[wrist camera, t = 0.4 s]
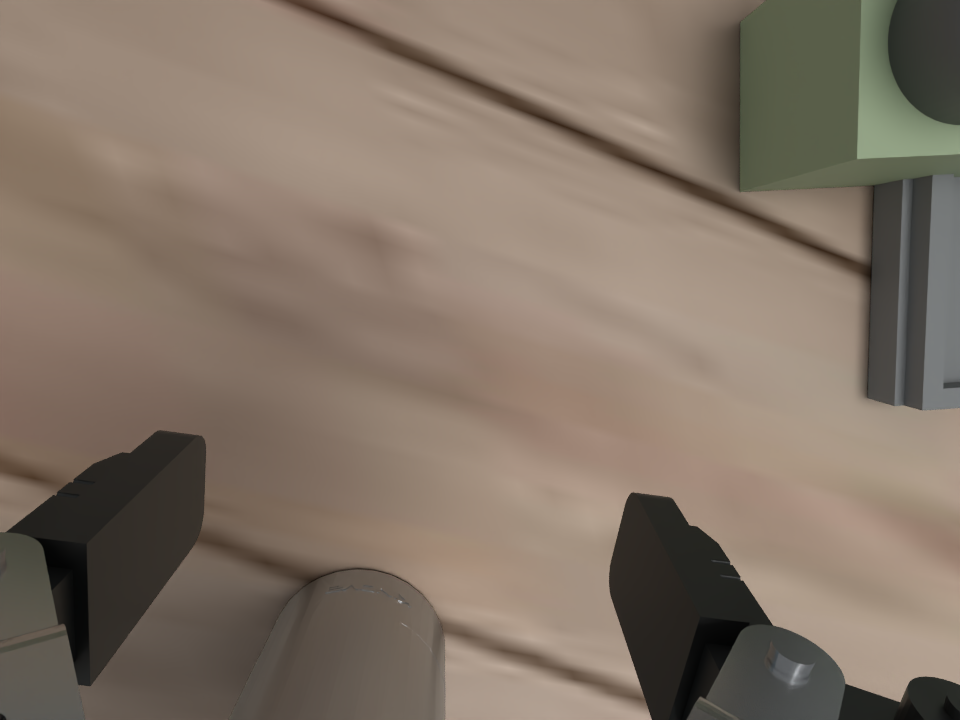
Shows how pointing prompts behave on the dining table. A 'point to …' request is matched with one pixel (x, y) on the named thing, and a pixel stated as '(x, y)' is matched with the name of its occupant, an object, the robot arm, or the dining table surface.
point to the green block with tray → (871, 160)
